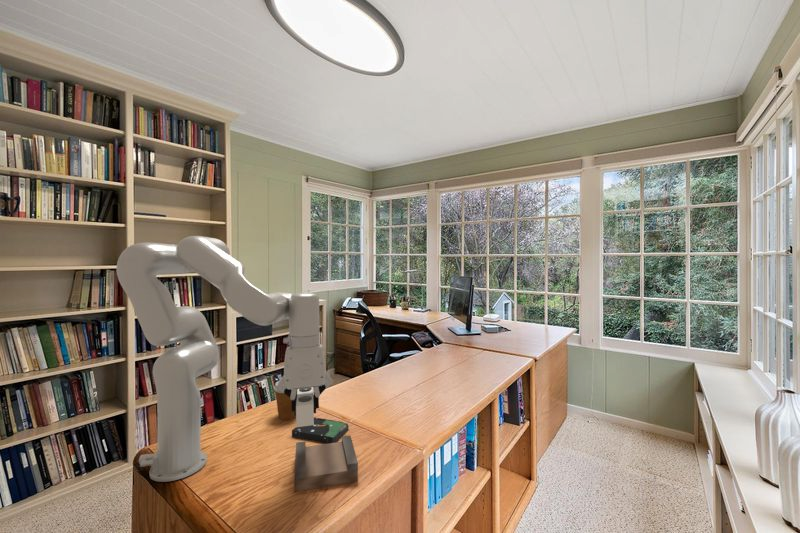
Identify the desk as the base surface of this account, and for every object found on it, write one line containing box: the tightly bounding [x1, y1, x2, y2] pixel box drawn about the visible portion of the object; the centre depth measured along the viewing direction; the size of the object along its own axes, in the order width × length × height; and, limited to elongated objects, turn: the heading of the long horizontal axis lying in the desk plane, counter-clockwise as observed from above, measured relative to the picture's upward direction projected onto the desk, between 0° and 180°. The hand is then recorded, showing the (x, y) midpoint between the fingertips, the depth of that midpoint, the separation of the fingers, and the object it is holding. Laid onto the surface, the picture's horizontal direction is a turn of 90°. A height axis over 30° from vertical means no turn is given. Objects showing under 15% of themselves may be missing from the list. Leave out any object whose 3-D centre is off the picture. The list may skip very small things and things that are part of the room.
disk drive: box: [291, 417, 349, 444], centre depth 106 cm, size 10×3×15 cm
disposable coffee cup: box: [273, 380, 298, 421], centre depth 118 cm, size 10×10×12 cm
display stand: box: [293, 434, 359, 493], centre depth 87 cm, size 15×14×4 cm
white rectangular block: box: [295, 387, 315, 427], centre depth 85 cm, size 4×14×5 cm, turn 15°
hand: (305, 411), depth 85 cm, fingers closed on white rectangular block, 4 cm apart
